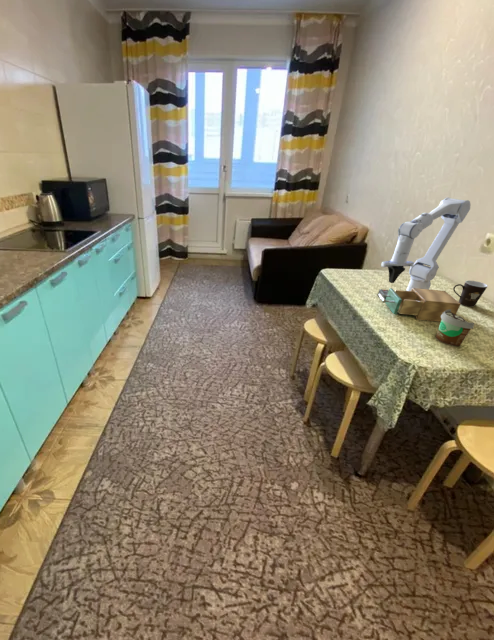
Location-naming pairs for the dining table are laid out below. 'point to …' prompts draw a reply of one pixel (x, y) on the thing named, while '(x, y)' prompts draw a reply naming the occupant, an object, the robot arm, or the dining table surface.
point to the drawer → (402, 301)
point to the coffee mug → (471, 292)
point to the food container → (453, 328)
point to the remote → (383, 292)
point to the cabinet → (435, 304)
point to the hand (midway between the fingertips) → (391, 282)
